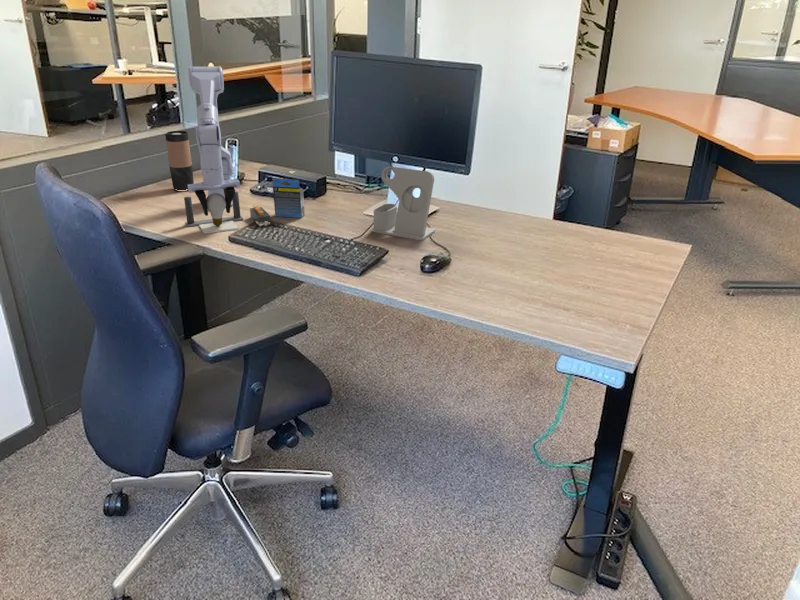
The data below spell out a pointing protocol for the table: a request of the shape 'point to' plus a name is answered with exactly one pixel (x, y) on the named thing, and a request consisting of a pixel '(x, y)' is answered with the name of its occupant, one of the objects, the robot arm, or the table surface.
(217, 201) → the light bulb
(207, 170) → the robot arm
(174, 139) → the travel mug
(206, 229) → the mat
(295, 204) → the blue retail box
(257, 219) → the terminal block
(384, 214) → the phone holder
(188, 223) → the cable posts
